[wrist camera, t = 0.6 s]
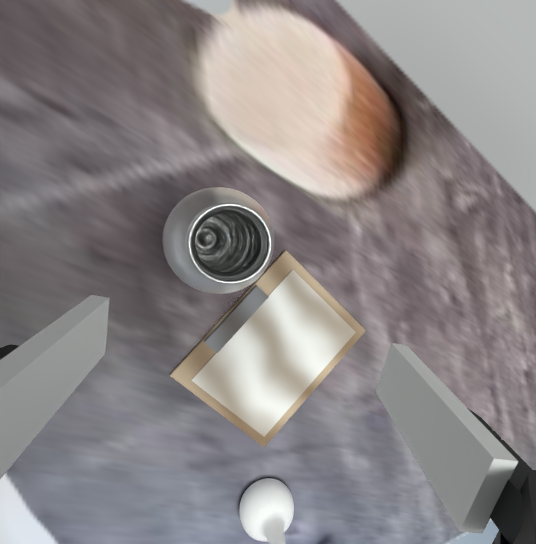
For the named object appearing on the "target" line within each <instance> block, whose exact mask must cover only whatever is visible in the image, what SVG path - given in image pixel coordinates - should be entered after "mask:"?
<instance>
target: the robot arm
mask: <svg viewBox="0 0 536 544" xmlns="http://www.w3.org/2000/svg"><path fill="white" fill-rule="evenodd" d="M108 311H109V298H108V297H101V296H95V295H90V296H89V297H88V298H86V299H85V300H83V301H82V302H81V303H79V304H78V305H76V306H75V307H74V308H72V309H71V310H69V311H68V312H67V313H65V314H64V315H62V316H61V317H60V318H58V319H57V320H55V321H54V322H53V323H51V324H50V325H48V326H47V327H46V328H44V329H43V330H41V331H40V332H39V333H37V334H36V335H34V336H33V337H32V338H30V339H29V340H27V341H26V342H25V343H23V344H22V345H20V346H17V345H7V346H5V347H2V348H0V478H1V477H2V476H3V475H4V474H5V473H6V472H7V470H8V469H9V468H10V467H11V466H12V464H13V463H14V462H15V461H16V460H17V458H18V457H19V456H20V455H21V454H22V452H23V451H24V450H25V449H26V448H27V446H28V445H29V444H30V443H31V442H32V441H33V439H34V438H35V437H36V436H37V435H38V433H39V432H40V431H41V430H42V429H43V427H44V426H45V425H46V424H47V423H48V421H49V420H50V419H51V418H52V417H53V415H54V414H55V413H56V412H57V411H58V409H59V408H60V407H61V406H62V405H63V403H64V402H65V401H66V400H67V399H68V398H69V396H70V395H71V394H72V393H73V392H74V390H75V389H76V388H77V387H78V386H79V384H80V383H81V382H82V381H83V380H84V378H85V377H86V376H87V375H88V374H89V372H90V371H91V370H92V369H93V368H94V366H95V365H96V364H97V363H98V362H99V361H100V359H101V358H102V357H103V356H104V355H105V351H106V338H107V325H108ZM376 393H377V395H378V397H379V398H380V400H381V402H382V403H383V405H384V407H385V408H386V410H387V412H388V413H389V415H390V417H391V418H392V420H393V422H394V423H395V425H396V427H397V428H398V430H399V432H400V433H401V435H402V437H403V438H404V440H405V442H406V443H407V445H408V447H409V448H410V450H411V452H412V453H413V455H414V457H415V458H416V460H417V462H418V463H419V465H420V467H421V468H422V470H423V472H424V473H425V475H426V477H427V478H428V480H429V482H430V483H431V485H432V486H433V488H434V490H435V491H436V493H437V495H438V496H439V498H440V500H441V501H442V503H443V505H444V506H445V508H446V510H447V511H448V513H449V515H450V516H451V518H452V520H453V521H454V523H455V525H456V526H457V528H458V530H459V531H463V532H473V533H483V531H484V529H485V527H486V525H487V523H488V521H489V519H490V518H491V519H492V521H493V522H494V523H495V524H496V526H497V527H498V529H499V532H498V533H497V535H496V538H495V539H494V541H493V543H492V544H536V470H532V469H531V468H530V467H529V466H528V465H527V464H526V463H525V462H524V461H523V460H522V459H521V458H520V457H519V456H518V455H517V454H516V453H515V452H514V451H513V450H512V448H511V447H510V446H509V445H508V444H507V443H506V442H505V441H504V440H501V437H500V436H499V435H498V434H497V433H496V432H495V431H492V428H491V427H490V426H489V425H488V424H487V423H486V422H485V421H484V420H483V419H482V418H481V417H479V416H478V415H477V414H475V413H474V412H472V411H471V410H470V409H468V408H466V406H465V405H464V404H463V403H462V402H461V401H460V400H459V399H458V398H457V397H456V396H455V395H454V394H453V393H452V392H451V391H450V390H449V389H448V388H447V387H446V386H445V385H444V384H443V383H442V382H441V381H440V380H439V378H438V377H437V376H436V375H435V374H434V373H433V372H432V371H431V370H430V369H429V368H428V367H427V366H426V365H425V364H424V363H423V362H422V361H421V360H420V359H419V358H418V357H417V356H416V355H415V354H414V353H413V351H412V350H411V349H410V348H409V347H408V346H407V345H400V344H394V343H392V344H391V347H390V350H389V353H388V356H387V359H386V362H385V365H384V368H383V371H382V374H381V377H380V380H379V383H378V386H377V389H376Z"/></svg>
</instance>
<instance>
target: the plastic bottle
mask: <svg viewBox="0 0 536 544" xmlns="http://www.w3.org/2000/svg"><path fill="white" fill-rule="evenodd" d="M163 249H164V254H165V257H166V259H167V262H168V264H169V266H170V267H171V269H172V270H173V272H174V273H175V274H176V275H177V276H178V277H179V278H180V279H181V280H182V281H183V282H184V283H186V284H187V285H189V286H190V287H192V288H194V289H197V290H199V291H202V292H206V293H211V294H226V293H233V292H236V291H239V290H242V289H244V288H246V287H247V286H249V285H251V284H252V283H254V282H255V281H256V280H257V279H258V278H259V277H260V276H261V275H262V274H263V273H264V271H265V270H266V269H267V267H268V265H269V263H270V261H271V258H272V254H273V251H274V231H273V228H272V224H271V221H270V219H269V217H268V216H267V214H266V212H265V211H264V209H263V208H262V207H261V206H260V205H259V203H257V202H256V201H255V200H254V199H252V198H251V197H250V196H248V195H246V194H244V193H242V192H240V191H237V190H234V189H231V188H224V187H212V188H205V189H202V190H198V191H196V192H194V193H192V194H190V195H188V196H186V197H185V198H184V199H182V200H181V201H180V202H179V203H178V204H177V205H176V206H175V207H174V209H173V210H172V211H171V213H170V215H169V216H168V218H167V220H166V223H165V227H164V230H163Z"/></svg>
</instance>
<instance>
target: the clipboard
mask: <svg viewBox="0 0 536 544" xmlns="http://www.w3.org/2000/svg"><path fill="white" fill-rule="evenodd" d="M365 331H366V330H365V329H364V328H363V327H362V326H361V325H360V324H359V323H358V322H357V321H356V320H355V319H354V318H353V317H352V316H351V315H350V314H349V313H348V312H347V311H346V310H345V309H344V308H343V307H342V306H341V305H340V304H339V303H338V302H337V301H336V300H335V299H334V298H333V297H332V296H331V295H330V294H329V293H328V292H327V291H326V290H325V289H324V288H323V287H322V286H321V285H320V284H319V283H318V282H317V281H316V280H315V279H314V278H313V277H312V276H311V275H310V274H309V273H308V272H307V271H306V270H305V269H304V268H303V267H302V266H301V265H300V264H299V263H298V262H297V261H296V260H295V259H294V258H293V257H292V256H291V255H290V254H289V253H288V252H287V251H286V250H284V251H283V253H282V254H281V255H280V256H279V257H278V258H277V259H276V260H275V261H274V262H273V263H272V264H271V265H270V267H269V268H268V269H267V270H266V271H265V272H264V273H263V274H262V275H261V276H260V277H259V278H258V280H257V281H256V282H255V283H254V284H253V285H252V286H251V287H250V288H249V289H248V290H247V291H246V293H245V294H244V295H243V296H242V297H241V298H240V299H239V300H238V301H237V302H236V303H235V304H234V305H233V307H232V308H231V309H230V310H229V311H228V312H227V313H226V314H225V315H224V316H223V317H222V318H221V320H220V321H219V322H218V323H217V324H216V325H215V326H214V327H213V328H212V329H211V330H210V331H209V332H208V334H207V335H206V336H205V337H204V338H203V339H202V340H201V341H200V342H199V343H198V344H197V345H196V347H195V348H194V349H193V350H192V351H191V352H190V353H189V354H188V355H187V356H186V357H185V358H184V359H183V361H182V362H181V363H180V364H179V365H178V366H177V367H176V368H175V369H174V370H173V371H172V372H171V374H170V376H171V377H173V378H174V379H175V380H176V381H178V382H179V383H180V384H182V385H183V386H184V387H186V388H187V389H188V390H190V391H191V392H192V393H194V394H195V395H196V396H197V397H199V398H200V399H201V400H203V401H204V402H205V403H207V404H208V405H209V406H211V407H212V408H213V409H215V410H216V411H217V412H218V413H220V414H221V415H222V416H224V417H225V418H226V419H228V420H229V421H230V422H232V423H233V424H234V425H236V426H237V427H238V428H239V429H241V430H242V431H243V432H245V433H246V434H247V435H249V436H250V437H251V438H253V439H254V440H255V441H257V442H258V443H259V444H260V445H262V446H263V447H265V446H266V444H267V443H268V442H269V441H270V440H271V439H272V438H273V436H274V435H275V434H276V433H277V432H278V431H279V430H280V428H281V427H282V426H283V425H284V424H285V423H286V422H287V420H288V419H289V418H290V417H291V416H292V415H293V413H294V412H295V411H296V410H297V409H298V408H299V407H300V405H301V404H302V403H303V402H304V401H305V400H306V399H307V397H308V396H309V395H310V394H311V393H312V392H313V391H314V389H315V388H316V387H317V386H318V385H319V384H320V383H321V381H322V380H323V379H324V378H325V377H326V376H327V375H328V373H329V372H330V371H331V370H332V369H333V368H334V366H335V365H336V364H337V363H338V362H339V361H340V360H341V358H342V357H343V356H344V355H345V354H346V353H347V352H348V350H349V349H350V348H351V347H352V346H353V345H354V344H355V342H356V341H357V340H358V339H359V338H360V337H361V336H362V334H363V333H364V332H365Z"/></svg>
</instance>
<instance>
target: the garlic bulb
mask: <svg viewBox="0 0 536 544" xmlns="http://www.w3.org/2000/svg"><path fill="white" fill-rule="evenodd" d="M239 513H240V519H241V523H242V526H243V528H244V529H245V531H246V532H247V533H248V535H249V536H251V537H252V538H253V539H255V540H258V541H268V542H269V543H270V544H286V541H285V535H284V532H285V531H286V530H287V529H288V527H289V525H290V523H291V521H292V518H293V513H294V503H293V498H292V495H291V493H290V491H289V489H288V488H287V487H286V486H285V484H283V483H282V482H281V481H279V480H276V479H272V478H266V479H261V480H259V481H256V482H255V483H253V484H252V485H251V486H250V487H248V489H247V490H246V491H245V492H244V494H243V496H242V499H241V502H240V509H239Z"/></svg>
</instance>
